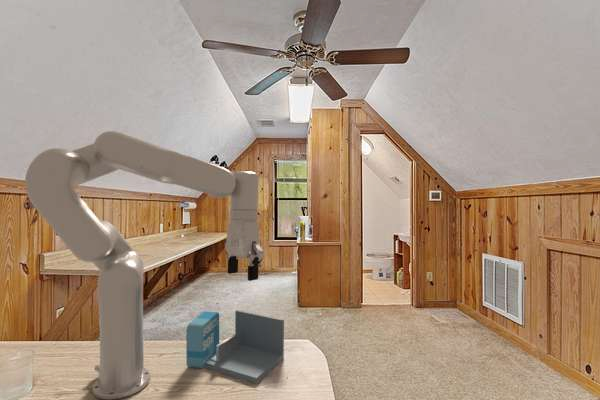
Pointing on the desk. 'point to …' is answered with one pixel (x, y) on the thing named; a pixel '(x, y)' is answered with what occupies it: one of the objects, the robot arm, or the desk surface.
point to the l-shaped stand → (253, 347)
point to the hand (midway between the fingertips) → (242, 276)
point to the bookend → (227, 347)
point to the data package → (202, 339)
